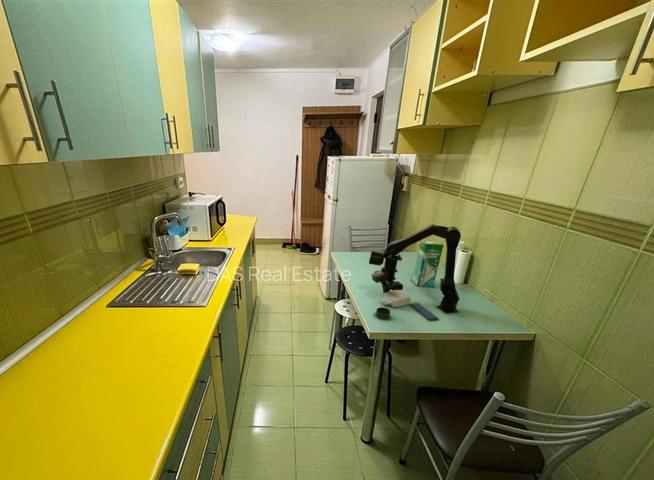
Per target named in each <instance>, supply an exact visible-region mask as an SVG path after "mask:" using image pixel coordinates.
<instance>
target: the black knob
mask: <svg viewBox="0 0 654 480" xmlns="http://www.w3.org/2000/svg"><path fill="white" fill-rule="evenodd" d="M375 316H376V317H377V318H378V319H380V320H384V321H385V320H388V319H390V317H391V310H390V309H389V308H387V307H377V308H376V311H375Z"/></svg>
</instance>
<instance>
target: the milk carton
mask: <svg viewBox="0 0 654 480" xmlns="http://www.w3.org/2000/svg"><path fill="white" fill-rule="evenodd" d="M443 249H444V244H443V243H435V241H431V240H429V241H428V240H426V243H425V242H419V247H418V251H417V256H416V259H415V265H414V270H413V273H412V274H413V275H412V279H411V280H412V282H413V283H414V285H415V286H416V287H428V288H429V287H430V288H433V287H434V285H435V282H436V278H437V274H438V269H439V265H440V261H441V257H442V253H443Z"/></svg>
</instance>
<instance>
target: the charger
mask: <svg viewBox="0 0 654 480" xmlns="http://www.w3.org/2000/svg"><path fill="white" fill-rule="evenodd" d="M411 300H412V297H411V295H409V294H407V293H405V292H403V290H390V291H389V292H386V293H384V294H383V297H380V298H379V300H378V302H380V303H381V304H383V305H389V306H390V307H393V308H399V307H403V306H406V305H410V304H411Z"/></svg>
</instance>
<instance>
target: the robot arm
mask: <svg viewBox="0 0 654 480" xmlns="http://www.w3.org/2000/svg"><path fill="white" fill-rule="evenodd" d="M431 236H436V237H439V238H441V239H444V240H445V245H446V246H445V247H446V252H445V266H444V276H443V278H441V277H440V278H439V280H440V281H439V282H440V283H439V290H440V292H441V295H443V296H442V299H441V301H440V305H437V308H439V309H440V310H441V311H443V312H444V313H446V314H450V313H458V312H459V310H457V306H458V303H459V301H460V300H461V299H460V295H459V292H458V291H457V289H456V282H455V270H456V259H457V258H456V257H457V248H458V246H459V244H460V241H461V238H462V234H461V232H460V229H459V228H458V227H456V226H443V225H437V224H435V223H434V224H433V223H432V224H429V225H428V226H426V227H424V228H422V229H420V230H418V231H416V232H414V233H412V234H410V235H408V236H406V237H403V238H400V239H395V240H393V241H390V242H389V243H388V245H387V247H386V248H385V249H384V250H383V251H376V250H371V252H370V256H369V260H368V265H372V266H373V265H374V266H379V267H380V266H382V265H383V266H382V267H381V269H380V270H375V271H374V272H373V273H371V279H372V281H373V282H374V283H375V284H381V287H382V293H383V294H382V295H384V293H386V292H390V291H395V290H400V291H403V289H404V285H403V284H402V282H400V281H396V280H397V277H395V276H396V273H398V269H397V267H398V261H399V262H400V261H403V257H402V256H401V254H400V253H401V252H403V251H404V250H405V249H407V248H408V247H410V246H411V245H414V244H416V243H418V242H420V241H422V240H424V239H427V238H428V237H431Z"/></svg>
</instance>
